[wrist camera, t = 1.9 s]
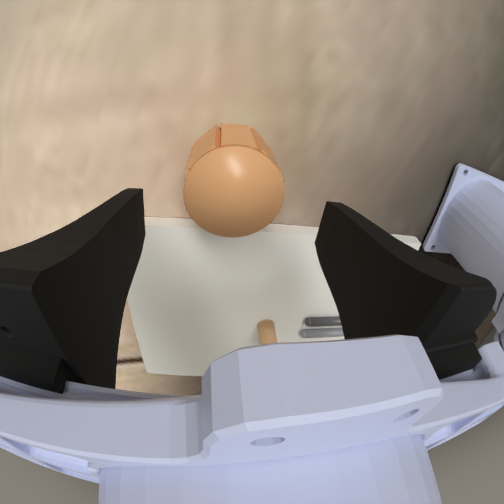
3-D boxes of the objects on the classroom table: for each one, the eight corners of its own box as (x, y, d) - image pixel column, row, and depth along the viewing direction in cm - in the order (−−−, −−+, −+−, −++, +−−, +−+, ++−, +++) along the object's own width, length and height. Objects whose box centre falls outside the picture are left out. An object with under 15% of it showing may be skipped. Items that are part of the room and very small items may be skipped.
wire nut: (275, 128, 15) (292, 153, 12) (263, 197, 18) (274, 240, 14) (195, 121, 15) (185, 144, 11) (190, 193, 17) (183, 235, 14)
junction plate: (415, 236, 21) (440, 268, 18) (343, 363, 32) (352, 392, 28) (118, 215, 17) (98, 253, 14) (148, 364, 28) (144, 397, 25)
